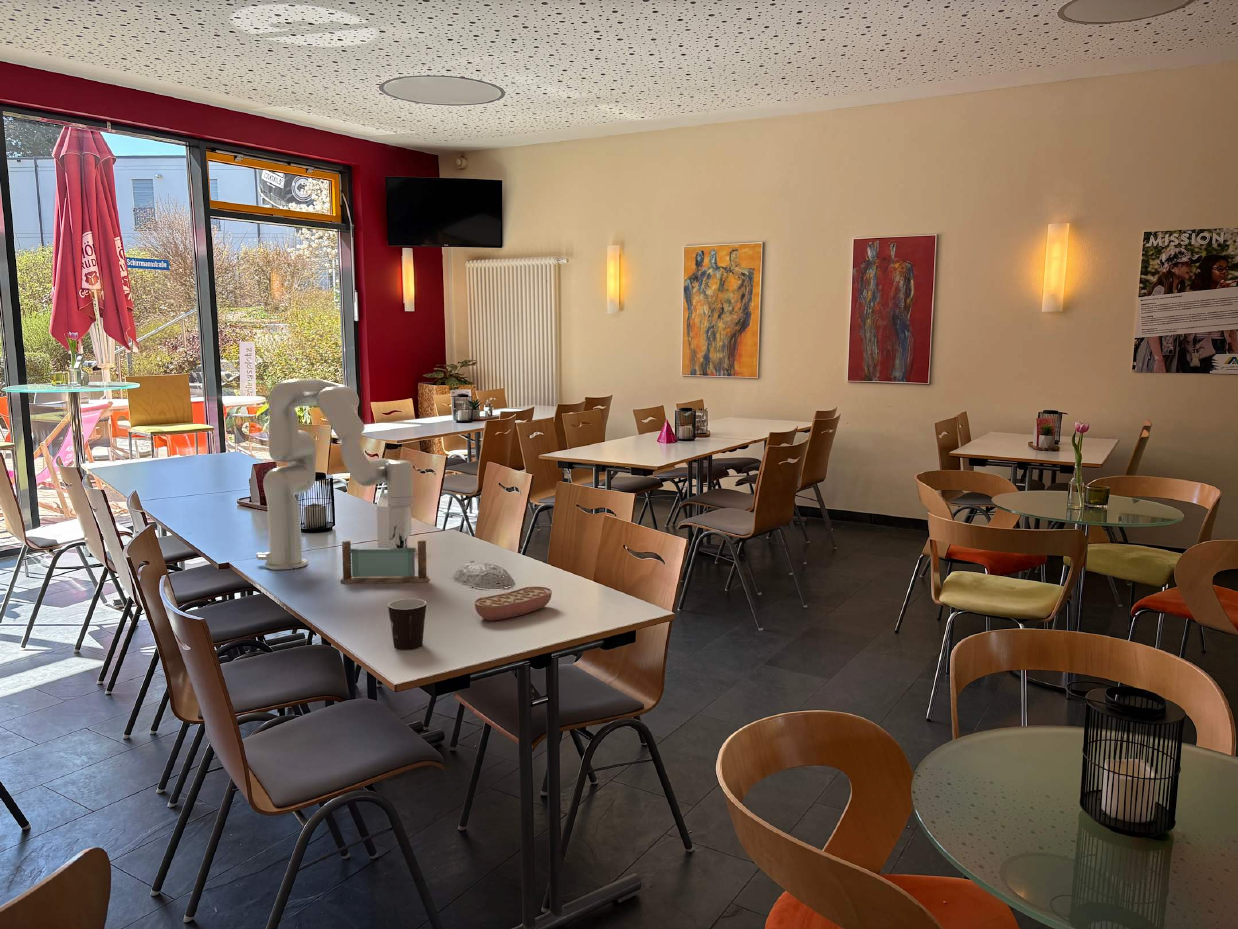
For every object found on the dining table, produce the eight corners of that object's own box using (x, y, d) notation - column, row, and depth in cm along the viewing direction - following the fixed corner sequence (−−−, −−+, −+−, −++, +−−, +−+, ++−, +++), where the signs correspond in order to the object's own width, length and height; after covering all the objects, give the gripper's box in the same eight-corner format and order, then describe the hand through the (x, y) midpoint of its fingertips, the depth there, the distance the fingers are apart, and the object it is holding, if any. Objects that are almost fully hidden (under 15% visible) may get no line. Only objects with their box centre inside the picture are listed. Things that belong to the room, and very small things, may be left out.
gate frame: (340, 583, 255) (339, 543, 253) (344, 579, 259) (342, 540, 257) (426, 582, 256) (425, 542, 255) (428, 579, 260) (427, 539, 259)
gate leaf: (350, 577, 256) (349, 549, 255) (352, 575, 257) (351, 548, 256) (415, 576, 257) (414, 548, 256) (416, 575, 259) (415, 547, 258)
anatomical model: (537, 602, 238) (536, 584, 237) (560, 609, 231) (560, 591, 230) (467, 619, 222) (467, 600, 221) (491, 628, 215) (490, 609, 214)
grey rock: (487, 592, 245) (488, 569, 245) (437, 580, 263) (438, 558, 263) (529, 588, 256) (530, 565, 256) (479, 577, 274) (480, 555, 274)
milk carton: (396, 549, 298) (395, 495, 296) (377, 548, 300) (376, 494, 297) (405, 545, 305) (404, 492, 303) (387, 544, 307) (385, 491, 304)
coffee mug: (396, 639, 205) (395, 598, 204) (432, 640, 205) (431, 599, 203) (378, 655, 194) (377, 612, 193) (416, 657, 193) (415, 613, 192)
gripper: (394, 497, 268) (395, 555, 271) (381, 505, 253) (382, 567, 256) (418, 497, 268) (419, 555, 271) (406, 505, 253) (408, 567, 256)
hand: (401, 561), depth 263 cm, fingers closed
